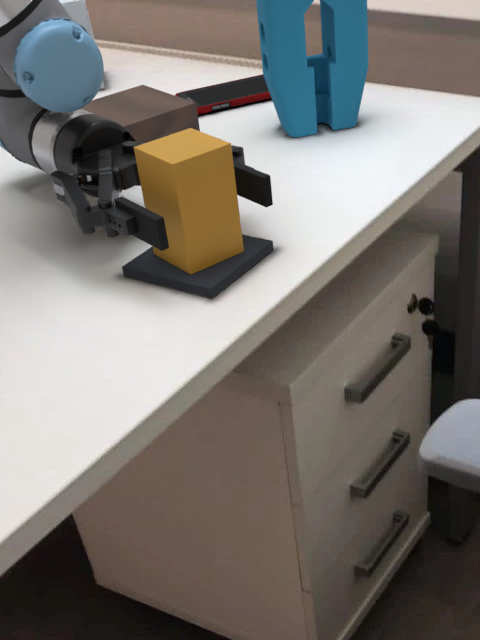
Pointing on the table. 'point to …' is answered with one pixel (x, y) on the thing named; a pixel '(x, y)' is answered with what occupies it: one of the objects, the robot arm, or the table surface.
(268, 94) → the cell phone
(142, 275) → the grey mat
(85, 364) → the table surface
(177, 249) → the ochre block
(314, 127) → the blue slotted bracket
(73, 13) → the ink box
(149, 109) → the walnut block
